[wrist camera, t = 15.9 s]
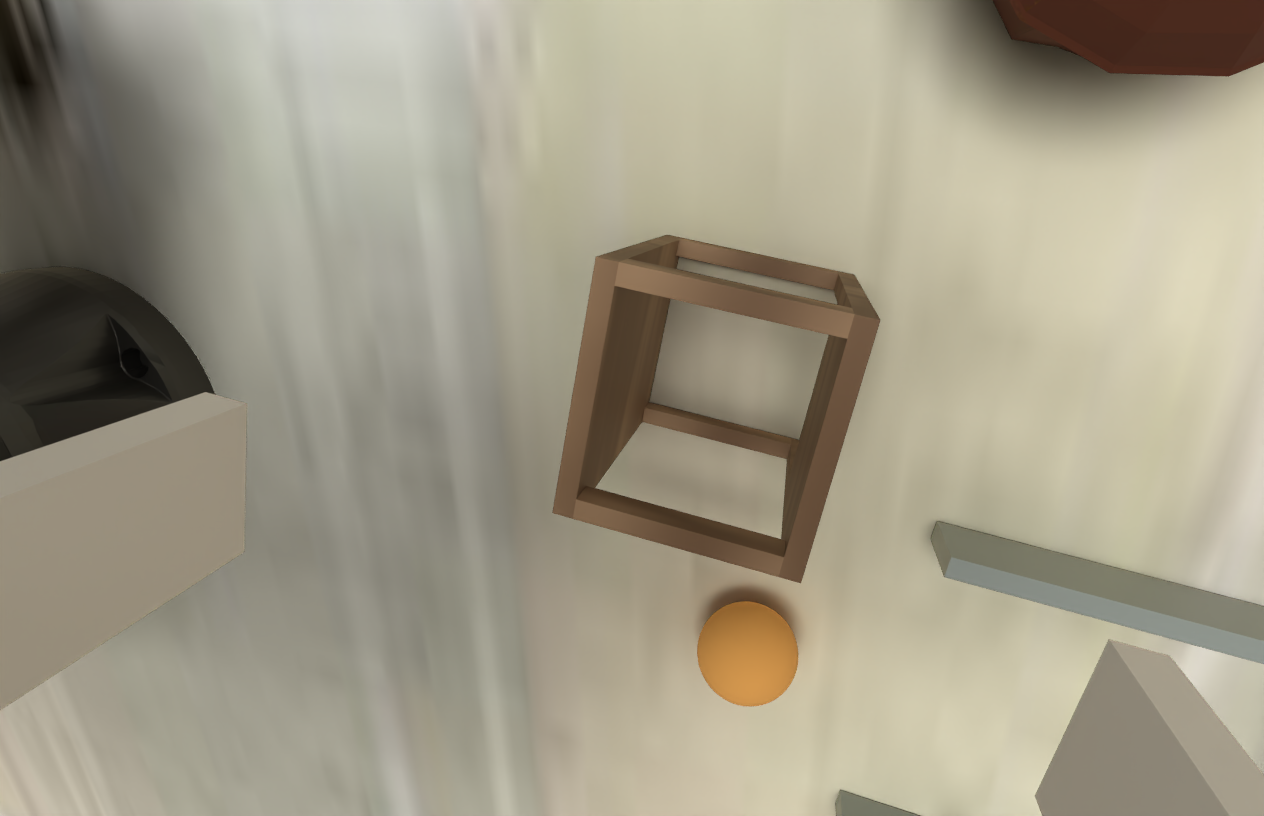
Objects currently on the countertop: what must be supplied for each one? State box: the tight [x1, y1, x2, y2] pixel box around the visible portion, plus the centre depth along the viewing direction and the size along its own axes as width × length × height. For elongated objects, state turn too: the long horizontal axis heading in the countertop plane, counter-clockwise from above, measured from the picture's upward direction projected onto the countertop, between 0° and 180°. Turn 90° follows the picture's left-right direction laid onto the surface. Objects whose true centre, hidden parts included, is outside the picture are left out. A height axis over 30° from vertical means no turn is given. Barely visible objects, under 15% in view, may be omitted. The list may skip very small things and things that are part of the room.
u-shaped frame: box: [835, 521, 1264, 816], centre depth 28 cm, size 16×14×3 cm
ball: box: [697, 601, 798, 706], centre depth 29 cm, size 4×4×4 cm
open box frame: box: [553, 235, 880, 583], centre depth 23 cm, size 7×7×10 cm
